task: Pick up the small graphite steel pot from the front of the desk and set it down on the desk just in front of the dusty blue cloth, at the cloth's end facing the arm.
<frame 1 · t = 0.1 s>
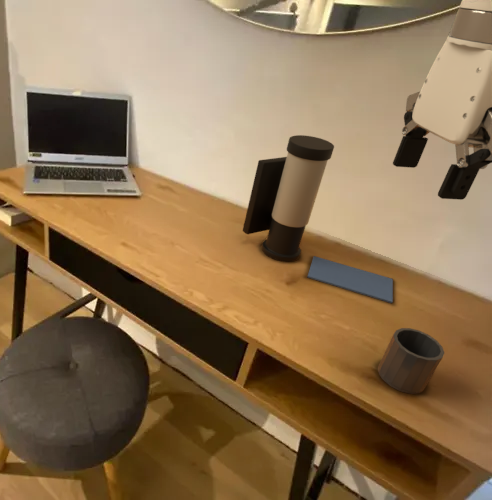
hand: (425, 181, 59), 31 cm above the table, tool pointing down, fingers open, 9 cm apart
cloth: (350, 279, 96), on the table
pot: (400, 376, 73), on the table
light fixture: (276, 249, 104), on the table
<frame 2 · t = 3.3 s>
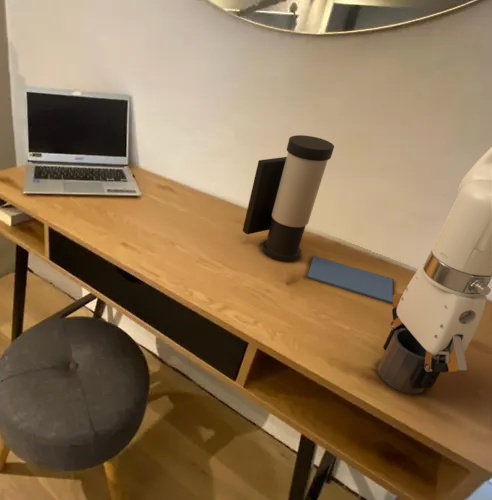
hand: (406, 366, 72), 2 cm above the table, tool pointing down, fingers closed on pot, 6 cm apart
pot: (400, 376, 73), on the table, touching gripper
everything else where it was.
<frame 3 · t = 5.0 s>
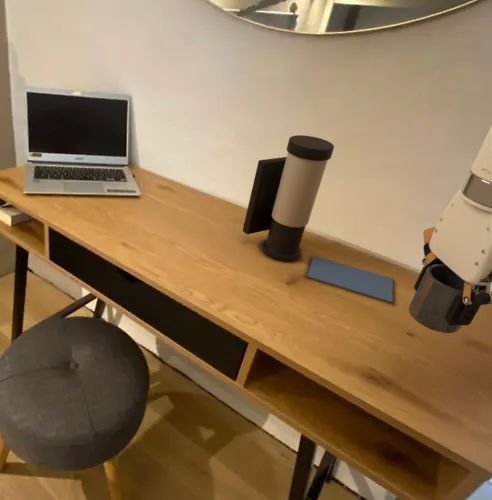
hand: (440, 305, 67), 14 cm above the table, tool pointing down, fingers closed on pot, 6 cm apart
pot: (434, 317, 68), point 11 cm above the table, touching gripper
everything else where it was.
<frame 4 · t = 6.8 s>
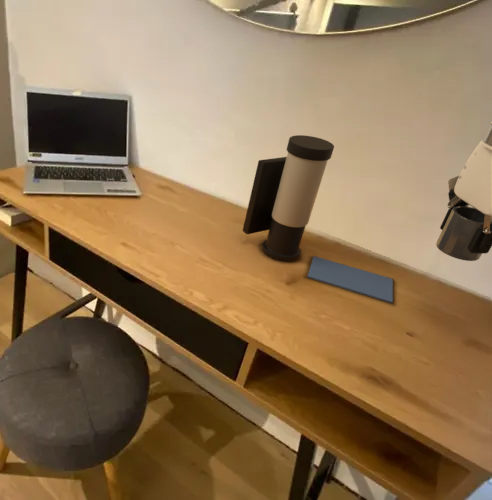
hand: (462, 240, 82), 15 cm above the table, tool pointing down, fingers closed on pot, 6 cm apart
pot: (457, 250, 83), point 13 cm above the table, touching gripper
everything else where it was.
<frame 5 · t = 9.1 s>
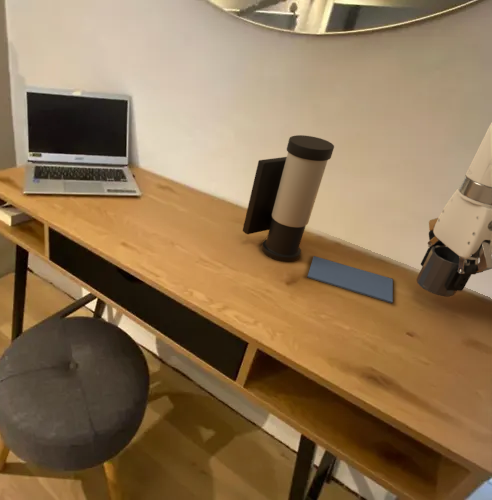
hand: (440, 276, 89), 6 cm above the table, tool pointing down, fingers closed on pot, 6 cm apart
pot: (435, 285, 90), point 4 cm above the table, touching gripper
everything else where it was.
when the fingers open (2 cm above the table, at t = 10.6 s): pot stays where it is, on the table.
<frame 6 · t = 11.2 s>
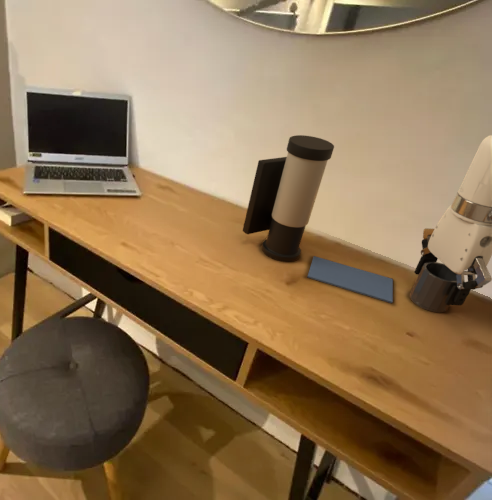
hand: (436, 288, 90), 3 cm above the table, tool pointing down, fingers open, 9 cm apart
pot: (428, 301, 92), on the table
everything else where it was.
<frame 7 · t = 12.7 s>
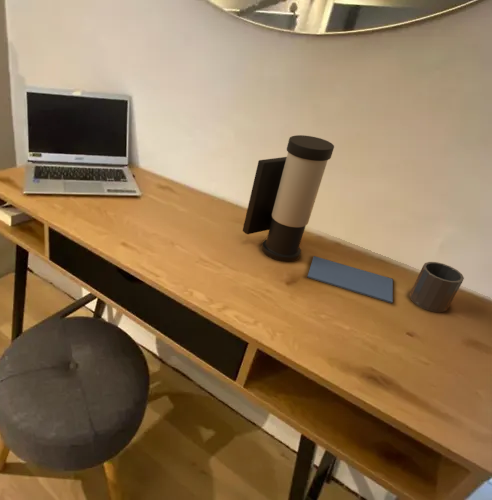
nothing on the table moved.
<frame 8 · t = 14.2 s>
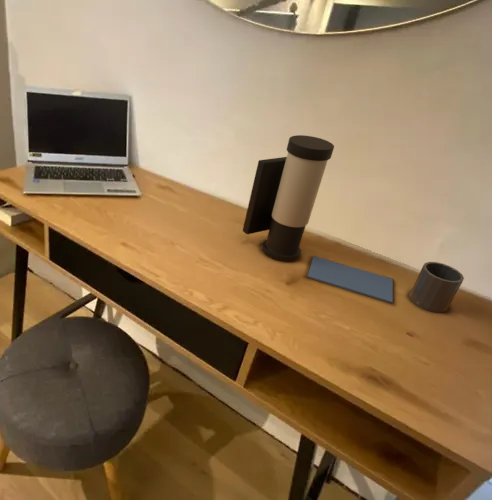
nothing on the table moved.
at the end: pot inside the target area on the table beside the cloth (0.2 cm from its centre), on the table; pot touching table; pot tilted 0° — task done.
